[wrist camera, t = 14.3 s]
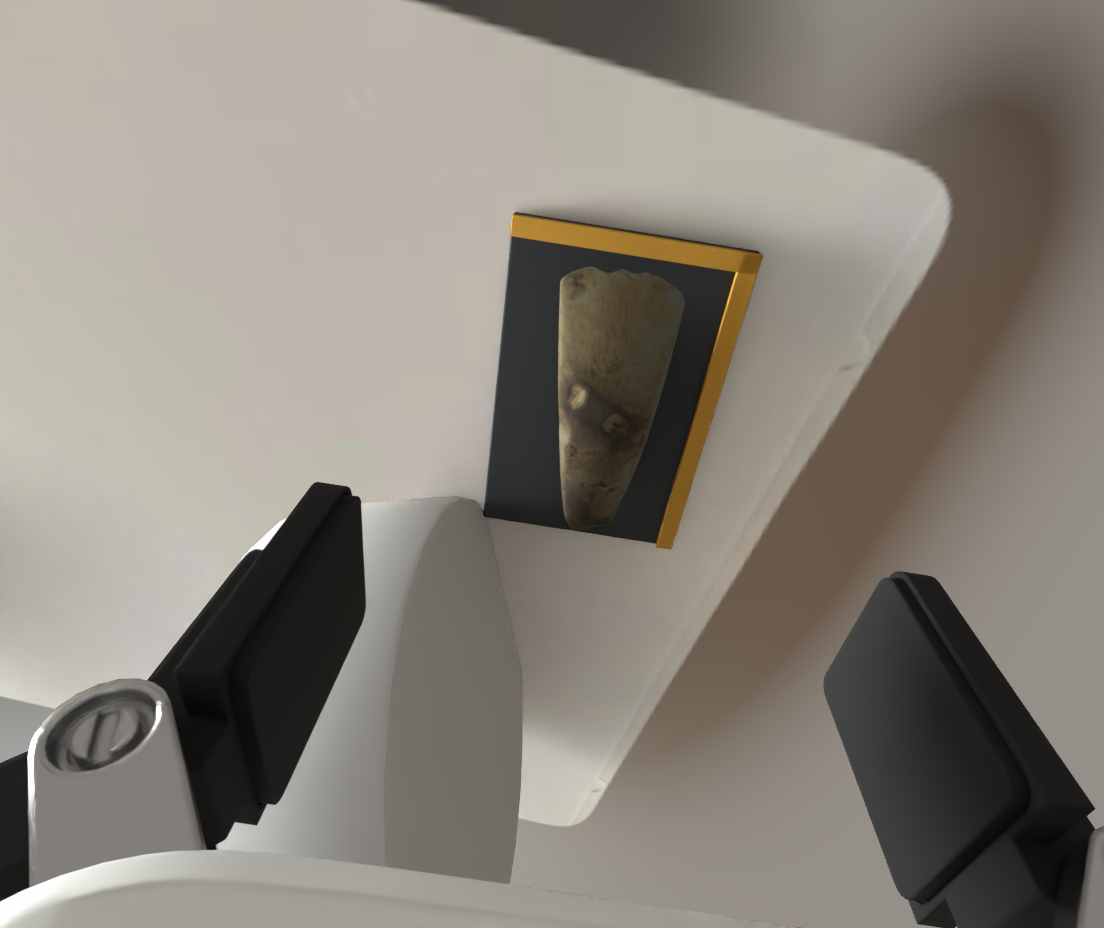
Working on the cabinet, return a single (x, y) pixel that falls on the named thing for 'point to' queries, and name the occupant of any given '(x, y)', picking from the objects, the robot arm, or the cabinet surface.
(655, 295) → the stone
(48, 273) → the cabinet surface
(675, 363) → the corner mat
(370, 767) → the alarm clock
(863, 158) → the cabinet surface
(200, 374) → the cabinet surface
